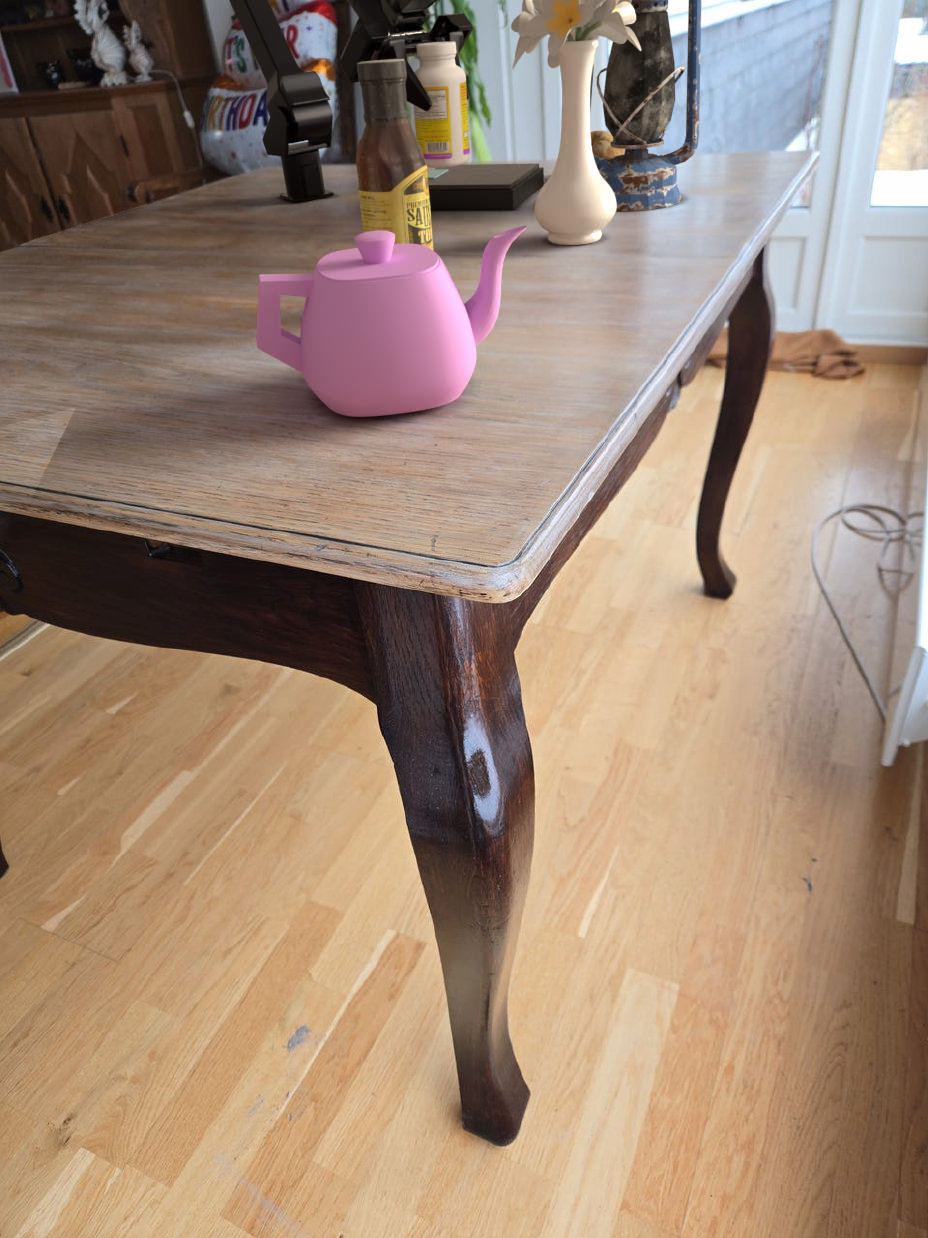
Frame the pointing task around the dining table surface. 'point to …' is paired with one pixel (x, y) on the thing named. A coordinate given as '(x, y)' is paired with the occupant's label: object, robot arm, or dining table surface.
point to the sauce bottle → (391, 158)
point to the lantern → (648, 108)
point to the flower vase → (574, 110)
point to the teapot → (383, 324)
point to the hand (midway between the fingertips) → (448, 104)
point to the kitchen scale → (483, 186)
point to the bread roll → (604, 145)
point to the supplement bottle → (442, 107)
